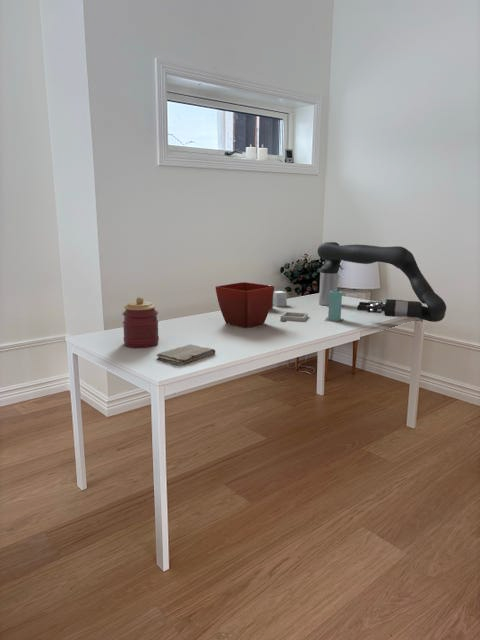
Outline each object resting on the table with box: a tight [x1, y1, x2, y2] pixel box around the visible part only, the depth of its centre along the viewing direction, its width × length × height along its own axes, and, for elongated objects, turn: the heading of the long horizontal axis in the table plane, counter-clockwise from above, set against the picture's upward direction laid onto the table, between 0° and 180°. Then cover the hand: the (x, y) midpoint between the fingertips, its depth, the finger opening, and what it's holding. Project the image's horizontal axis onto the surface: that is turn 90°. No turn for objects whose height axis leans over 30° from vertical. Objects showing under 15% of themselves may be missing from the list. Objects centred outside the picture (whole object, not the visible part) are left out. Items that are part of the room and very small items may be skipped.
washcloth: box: [156, 344, 216, 367], centre depth 163 cm, size 12×18×3 cm, turn 143°
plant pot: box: [214, 281, 275, 328], centre depth 211 cm, size 19×19×17 cm
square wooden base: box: [324, 316, 345, 323], centre depth 218 cm, size 8×8×4 cm
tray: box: [280, 311, 309, 323], centre depth 221 cm, size 11×11×2 cm
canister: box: [121, 296, 160, 349], centre depth 177 cm, size 13×13×18 cm
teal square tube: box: [327, 290, 343, 322], centre depth 217 cm, size 5×5×13 cm
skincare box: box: [273, 290, 288, 308], centre depth 254 cm, size 6×6×7 cm
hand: (358, 306), depth 214 cm, fingers open, 8 cm apart
